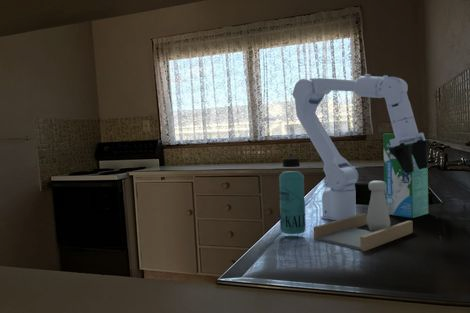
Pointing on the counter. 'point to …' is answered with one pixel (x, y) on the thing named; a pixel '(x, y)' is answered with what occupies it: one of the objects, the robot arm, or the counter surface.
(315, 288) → the counter surface
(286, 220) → the beverage bottle
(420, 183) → the milk carton
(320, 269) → the counter surface
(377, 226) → the salt shaker
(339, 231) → the tan u-shaped piece
